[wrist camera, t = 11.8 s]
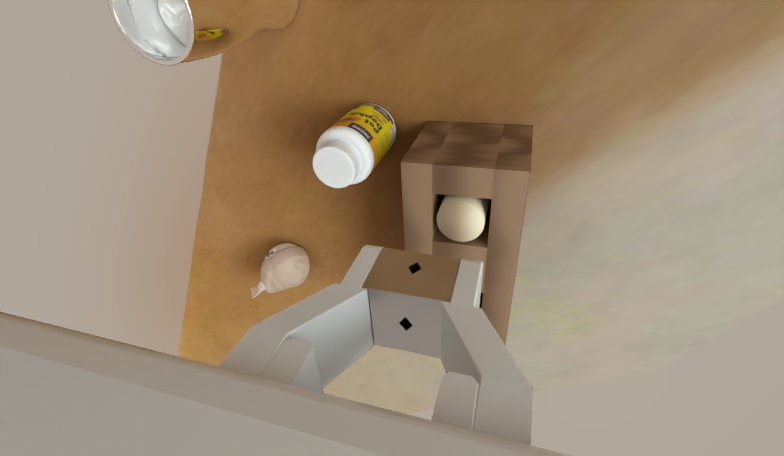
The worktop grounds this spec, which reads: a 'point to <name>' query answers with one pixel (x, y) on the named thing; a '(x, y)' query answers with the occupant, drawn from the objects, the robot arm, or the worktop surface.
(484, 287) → the block
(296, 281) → the garlic bulb
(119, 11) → the beer glass
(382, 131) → the supplement bottle
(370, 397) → the worktop surface
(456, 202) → the peg
